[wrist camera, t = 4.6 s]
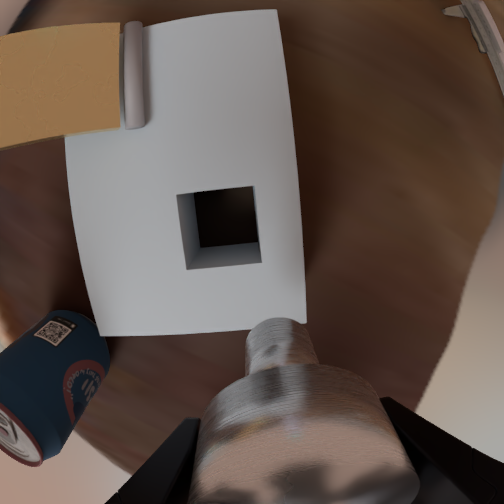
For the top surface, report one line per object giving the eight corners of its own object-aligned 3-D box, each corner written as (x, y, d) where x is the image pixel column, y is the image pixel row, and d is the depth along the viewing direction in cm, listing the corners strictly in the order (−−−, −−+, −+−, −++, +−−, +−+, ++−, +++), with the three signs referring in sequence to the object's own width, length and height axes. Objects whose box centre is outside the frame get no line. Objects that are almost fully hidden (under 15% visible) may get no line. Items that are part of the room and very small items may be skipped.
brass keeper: (118, 130, 13) (120, 127, 12) (-80, 176, 7) (-85, 175, 6) (117, 28, 11) (120, 22, 11) (-69, 64, 5) (-72, 59, 5)
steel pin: (335, 385, 12) (388, 534, 5) (223, 395, 13) (209, 556, 5) (341, 282, 11) (452, 432, 4) (207, 292, 11) (153, 472, 4)
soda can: (113, 385, 23) (58, 488, 11) (48, 357, 22) (-23, 437, 11) (119, 321, 21) (39, 426, 10) (47, 291, 21) (-50, 363, 9)
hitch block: (293, 290, 21) (310, 331, 15) (127, 304, 21) (93, 344, 15) (269, 44, 17) (278, 0, 11) (100, 74, 17) (57, 47, 11)
